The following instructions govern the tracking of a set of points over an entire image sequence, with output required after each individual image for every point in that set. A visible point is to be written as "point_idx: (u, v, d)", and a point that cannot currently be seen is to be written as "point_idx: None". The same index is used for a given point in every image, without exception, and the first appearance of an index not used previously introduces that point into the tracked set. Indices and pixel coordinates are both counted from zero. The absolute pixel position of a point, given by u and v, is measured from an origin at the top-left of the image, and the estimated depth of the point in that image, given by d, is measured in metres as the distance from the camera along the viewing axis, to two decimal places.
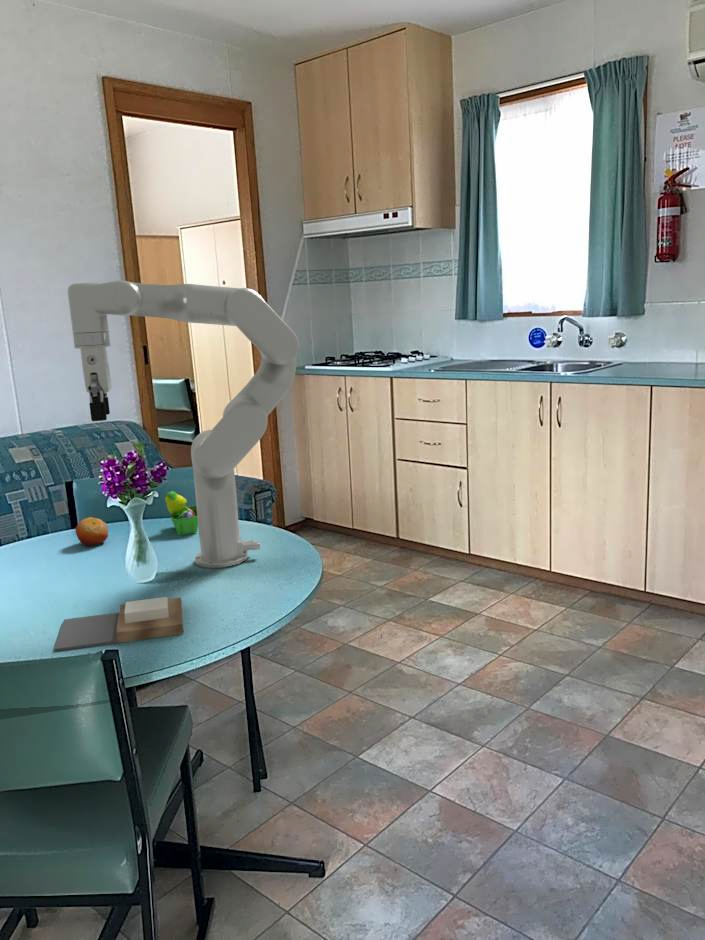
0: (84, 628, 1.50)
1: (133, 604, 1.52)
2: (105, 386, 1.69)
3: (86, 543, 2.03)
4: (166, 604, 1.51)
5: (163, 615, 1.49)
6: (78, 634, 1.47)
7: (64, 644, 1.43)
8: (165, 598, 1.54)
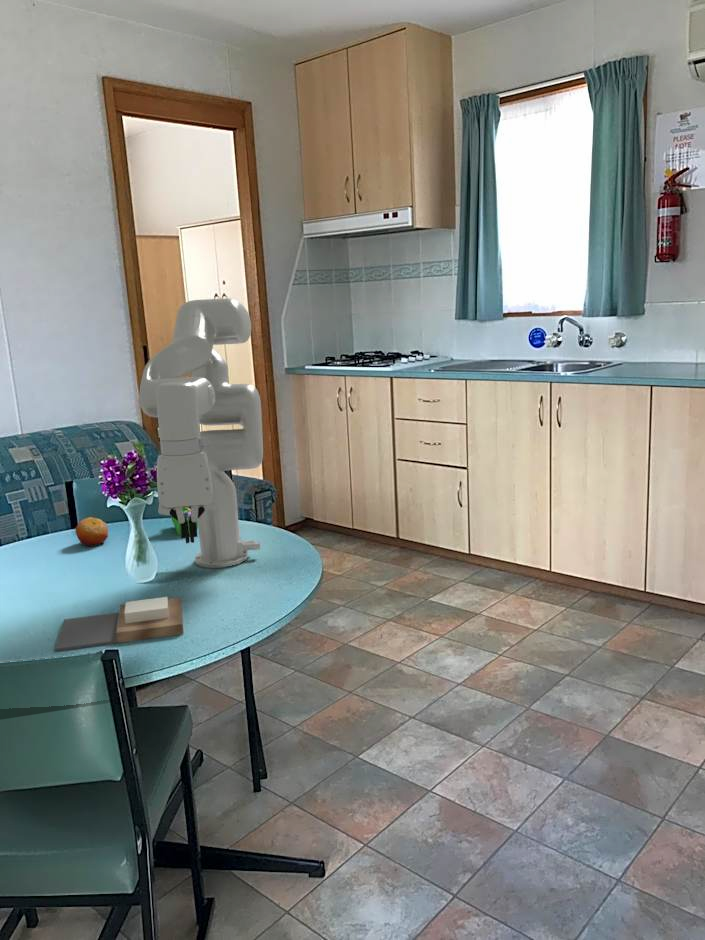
0: (84, 628, 1.50)
1: (133, 604, 1.52)
2: None
3: (86, 543, 2.03)
4: (166, 604, 1.51)
5: (163, 615, 1.49)
6: (78, 634, 1.47)
7: (64, 644, 1.43)
8: (165, 598, 1.54)
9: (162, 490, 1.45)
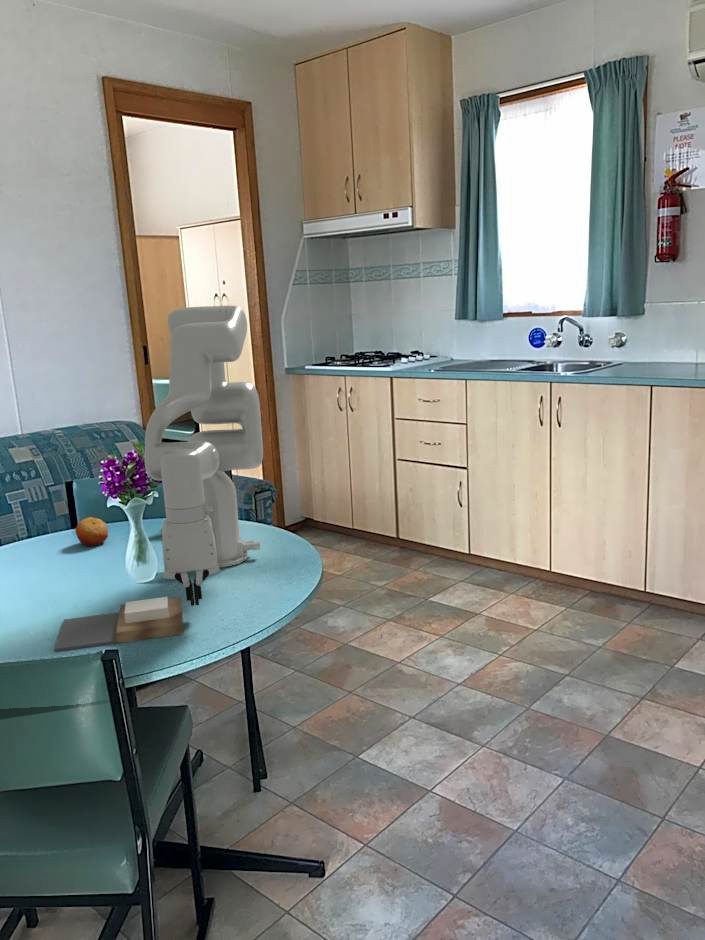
0: (84, 628, 1.50)
1: (133, 604, 1.52)
2: None
3: (86, 543, 2.03)
4: (166, 604, 1.51)
5: (163, 615, 1.49)
6: (78, 634, 1.47)
7: (64, 644, 1.43)
8: (165, 598, 1.54)
9: (167, 556, 1.48)
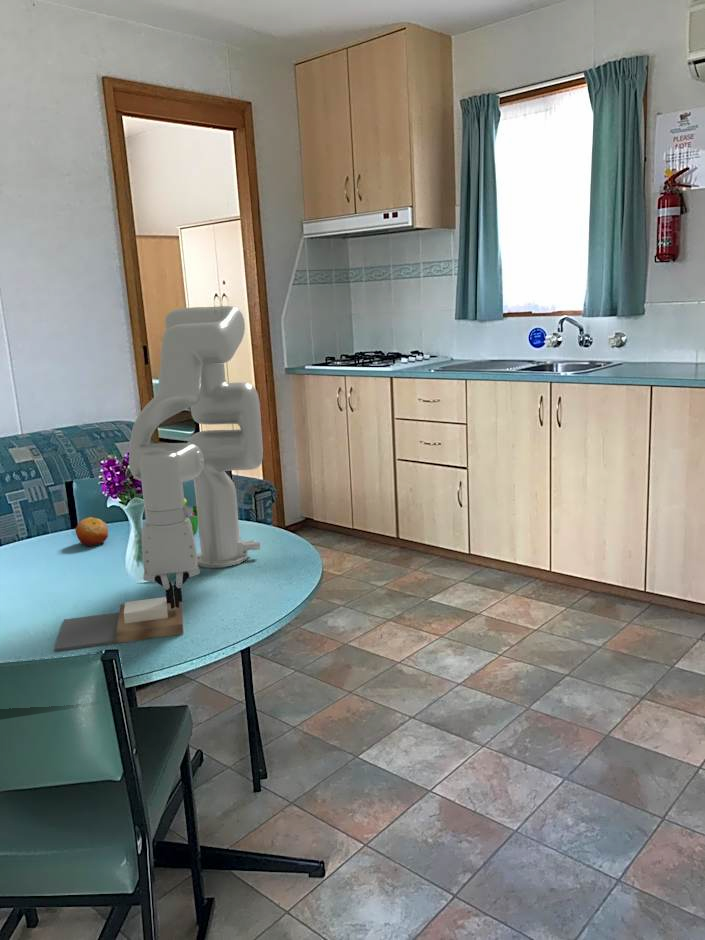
0: (84, 628, 1.50)
1: (133, 604, 1.52)
2: None
3: (86, 543, 2.03)
4: (165, 604, 1.51)
5: (162, 615, 1.49)
6: (78, 634, 1.47)
7: (64, 644, 1.43)
8: (164, 598, 1.54)
9: (147, 558, 1.47)
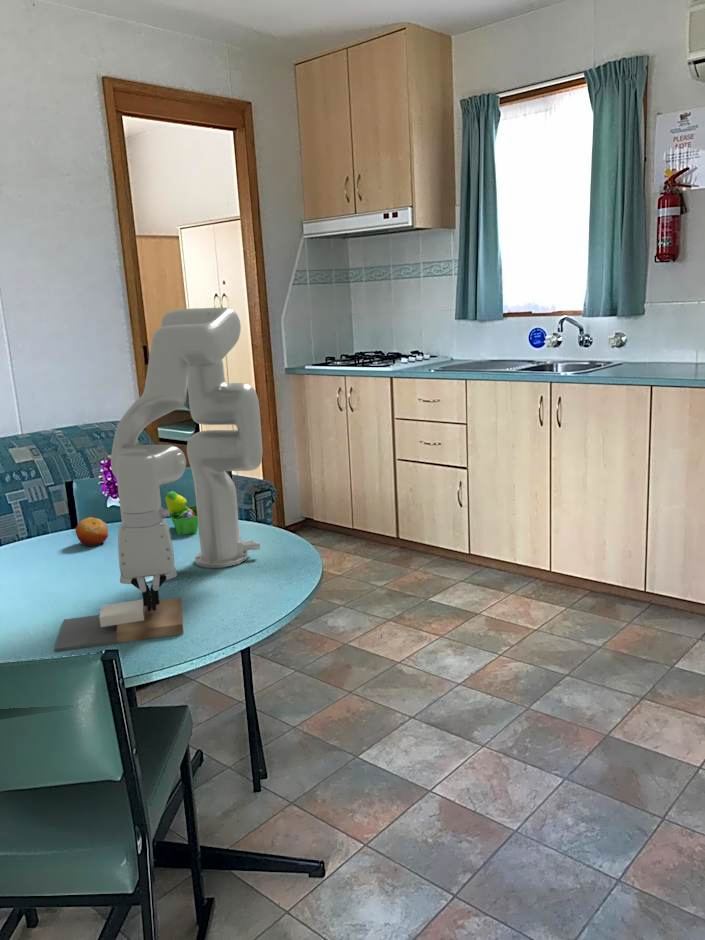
0: (84, 628, 1.50)
1: (109, 608, 1.51)
2: None
3: (86, 543, 2.03)
4: (142, 607, 1.50)
5: (138, 618, 1.48)
6: (78, 634, 1.47)
7: (64, 644, 1.43)
8: (141, 601, 1.53)
9: (123, 561, 1.46)
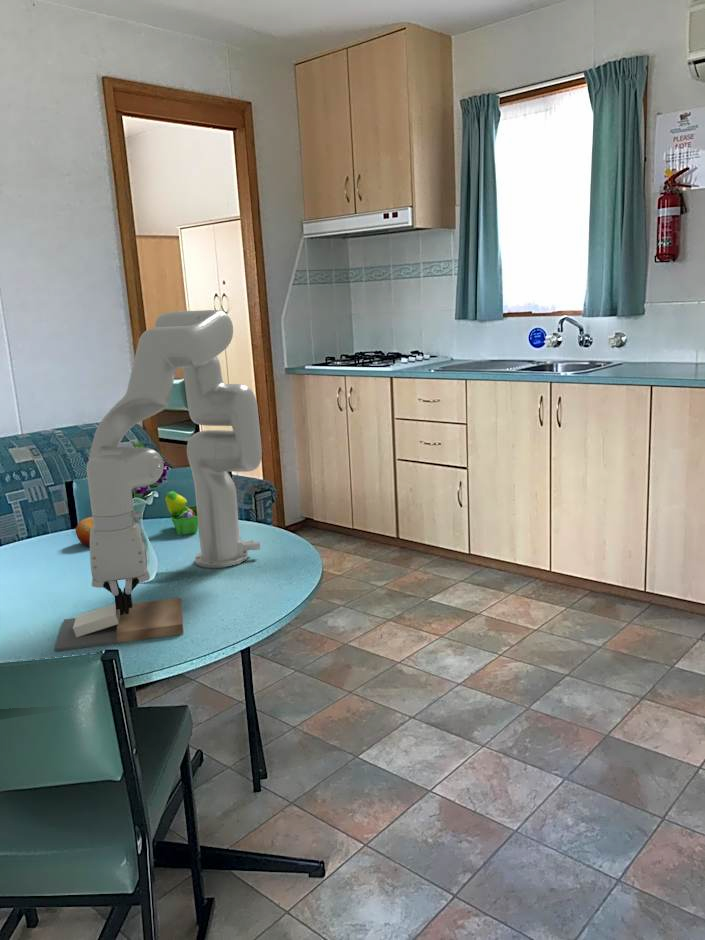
0: None
1: (83, 617, 1.50)
2: None
3: (86, 543, 2.03)
4: (114, 611, 1.49)
5: (112, 622, 1.47)
6: None
7: (64, 644, 1.43)
8: (114, 605, 1.52)
9: (94, 564, 1.45)
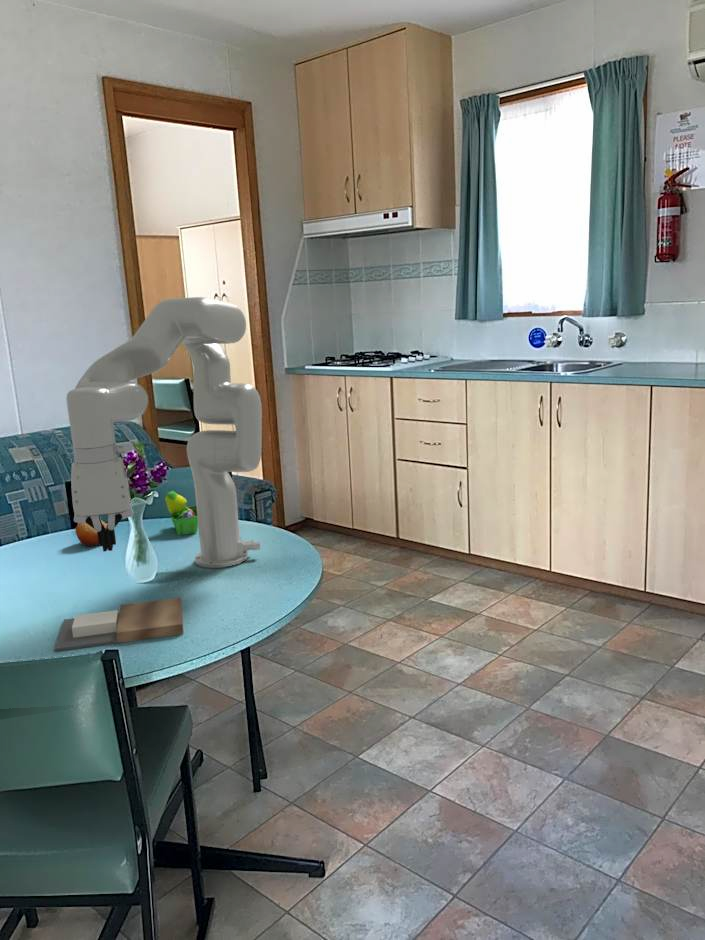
0: None
1: (82, 618, 1.50)
2: (130, 499, 1.49)
3: (86, 543, 2.03)
4: (115, 618, 1.49)
5: (111, 629, 1.48)
6: None
7: (64, 644, 1.43)
8: (115, 612, 1.52)
9: (76, 498, 1.42)
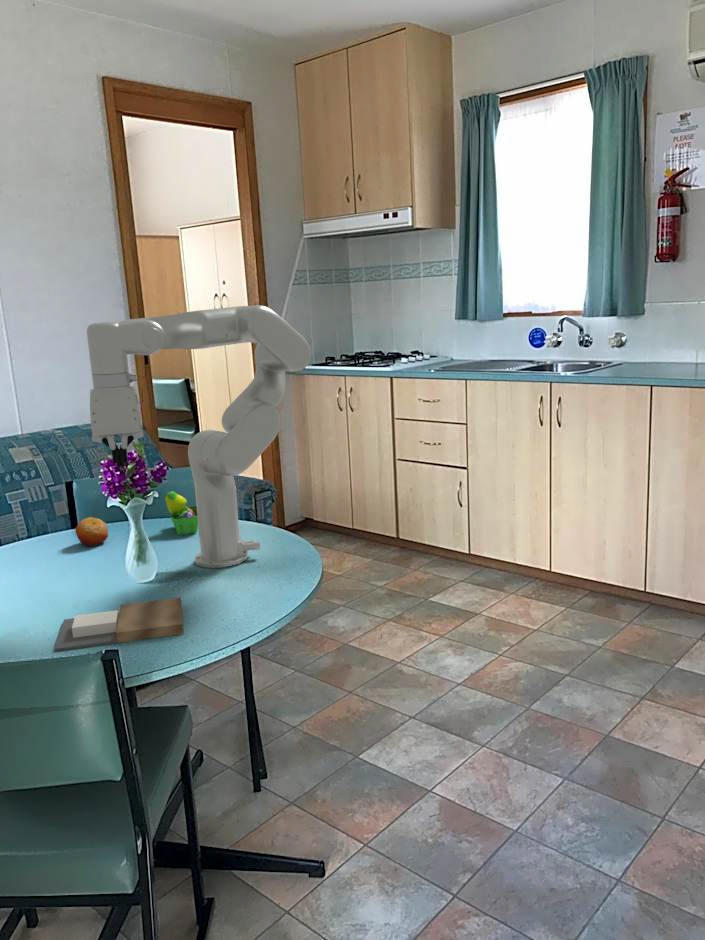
0: None
1: (82, 618, 1.50)
2: None
3: (86, 543, 2.03)
4: (115, 618, 1.49)
5: (111, 629, 1.48)
6: None
7: (64, 644, 1.43)
8: (115, 612, 1.52)
9: (94, 419, 1.63)
